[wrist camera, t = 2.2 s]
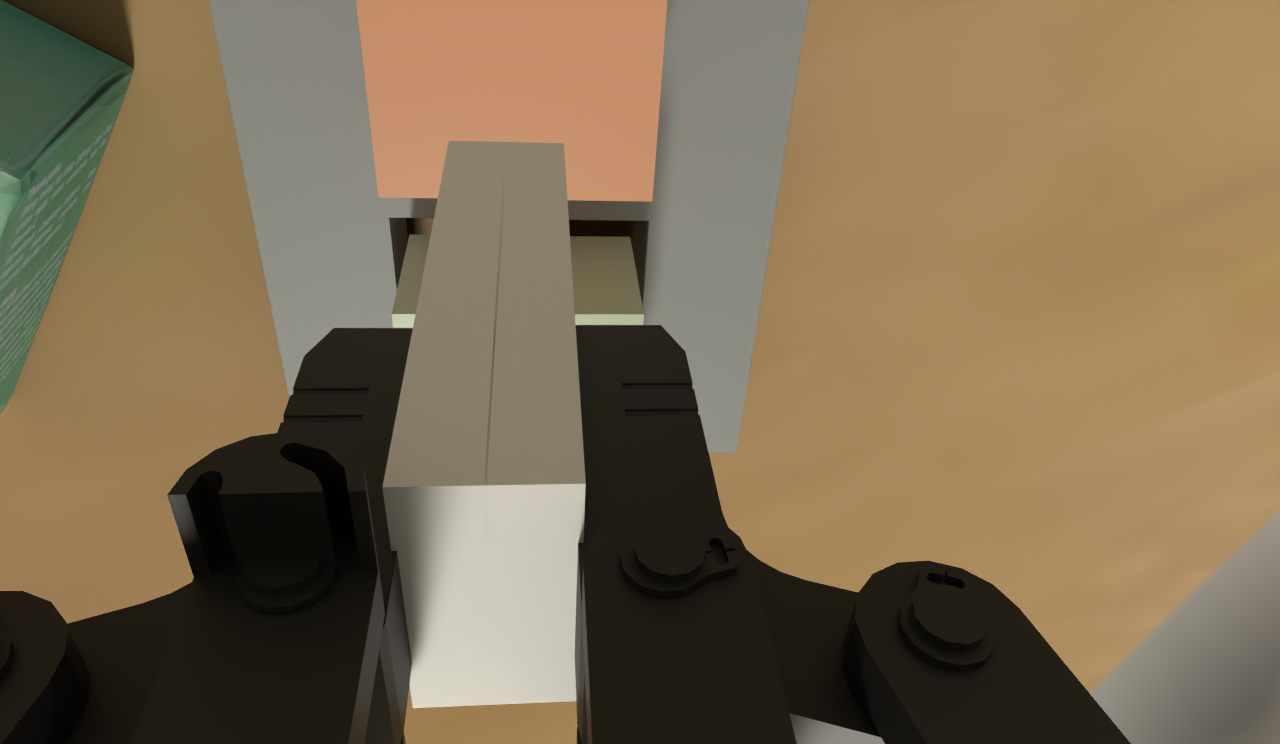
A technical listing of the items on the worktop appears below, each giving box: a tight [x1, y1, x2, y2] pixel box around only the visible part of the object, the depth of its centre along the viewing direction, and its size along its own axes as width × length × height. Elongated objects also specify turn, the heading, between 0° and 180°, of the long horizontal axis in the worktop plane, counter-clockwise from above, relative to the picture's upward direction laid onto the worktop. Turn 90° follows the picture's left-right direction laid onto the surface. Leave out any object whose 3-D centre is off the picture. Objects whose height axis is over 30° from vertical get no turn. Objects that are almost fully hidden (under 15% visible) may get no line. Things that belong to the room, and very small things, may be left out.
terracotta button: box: [356, 0, 667, 202], centre depth 20 cm, size 6×6×4 cm
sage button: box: [392, 235, 644, 328], centre depth 26 cm, size 6×6×4 cm
